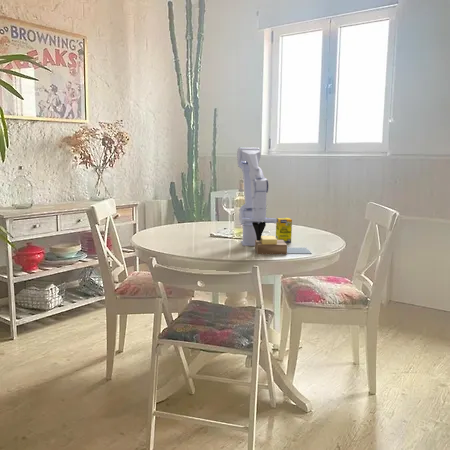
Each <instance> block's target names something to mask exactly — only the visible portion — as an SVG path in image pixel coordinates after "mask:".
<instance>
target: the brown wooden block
mask: <svg viewBox="0 0 450 450" xmlns="http://www.w3.org/2000/svg"><path fill="white" fill-rule="evenodd" d="M287 248H288V244H287V243H285V242H284V241H283V240H277V244H262V243H261V241H257V240H255V246H254V250H255V252H256V254H257V255H258V254H261V255H287ZM261 255H260V256H261Z"/></svg>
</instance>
